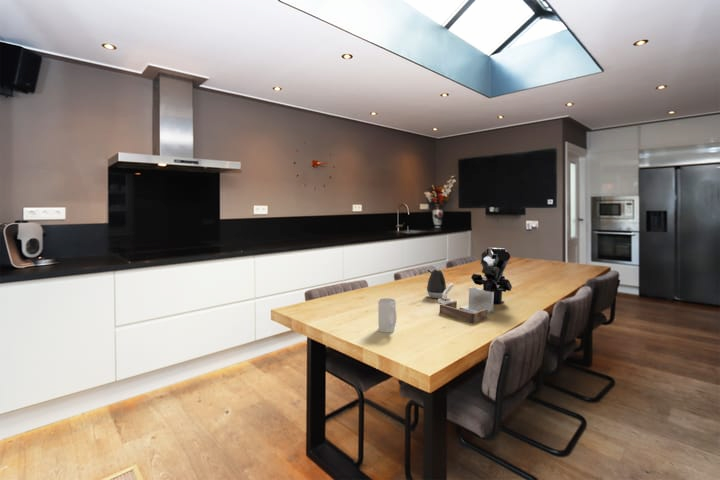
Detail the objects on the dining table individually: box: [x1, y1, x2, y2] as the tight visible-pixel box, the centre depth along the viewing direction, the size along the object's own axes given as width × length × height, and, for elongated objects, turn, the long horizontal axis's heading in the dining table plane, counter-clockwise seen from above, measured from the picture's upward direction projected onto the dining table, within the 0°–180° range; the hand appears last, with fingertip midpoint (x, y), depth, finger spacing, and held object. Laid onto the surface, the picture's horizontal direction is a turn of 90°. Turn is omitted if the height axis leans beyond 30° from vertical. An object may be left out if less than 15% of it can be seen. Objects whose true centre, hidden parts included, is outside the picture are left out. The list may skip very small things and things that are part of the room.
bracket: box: [459, 286, 494, 315], centre depth 171 cm, size 8×12×10 cm
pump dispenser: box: [426, 268, 447, 300], centre depth 196 cm, size 10×10×15 cm
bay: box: [439, 300, 488, 324], centre depth 165 cm, size 11×17×4 cm, turn 39°
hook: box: [437, 282, 455, 305], centre depth 186 cm, size 8×12×7 cm
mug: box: [377, 297, 398, 334], centre depth 144 cm, size 10×7×12 cm, turn 27°
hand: (483, 296), depth 174 cm, fingers closed
